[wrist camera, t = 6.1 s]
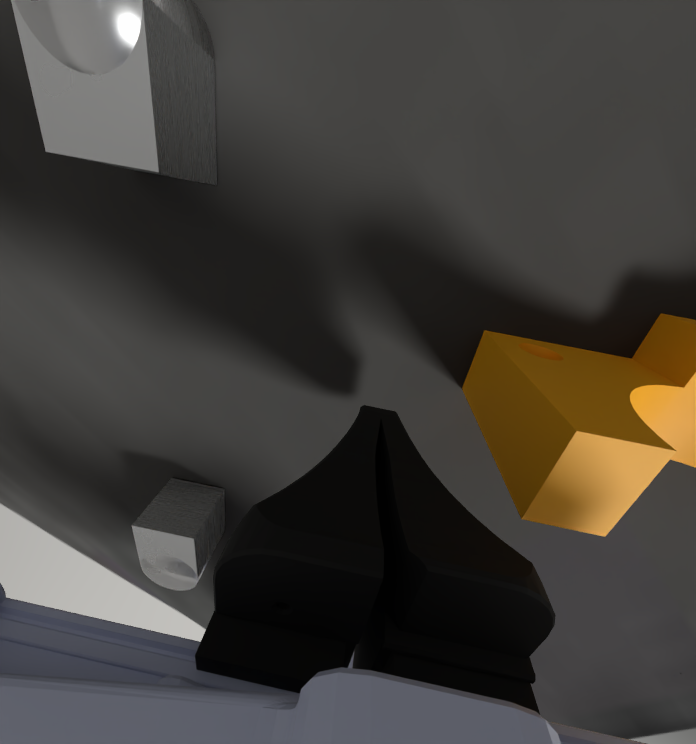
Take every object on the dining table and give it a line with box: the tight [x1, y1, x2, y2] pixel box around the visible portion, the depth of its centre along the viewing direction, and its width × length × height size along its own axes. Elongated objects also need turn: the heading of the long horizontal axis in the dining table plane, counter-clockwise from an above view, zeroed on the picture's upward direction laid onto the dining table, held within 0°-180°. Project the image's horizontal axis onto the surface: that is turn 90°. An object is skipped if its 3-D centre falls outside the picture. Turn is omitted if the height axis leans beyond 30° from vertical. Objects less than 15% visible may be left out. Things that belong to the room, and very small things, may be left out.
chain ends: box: [11, 0, 225, 591], centre depth 12 cm, size 24×3×3 cm, turn 171°
